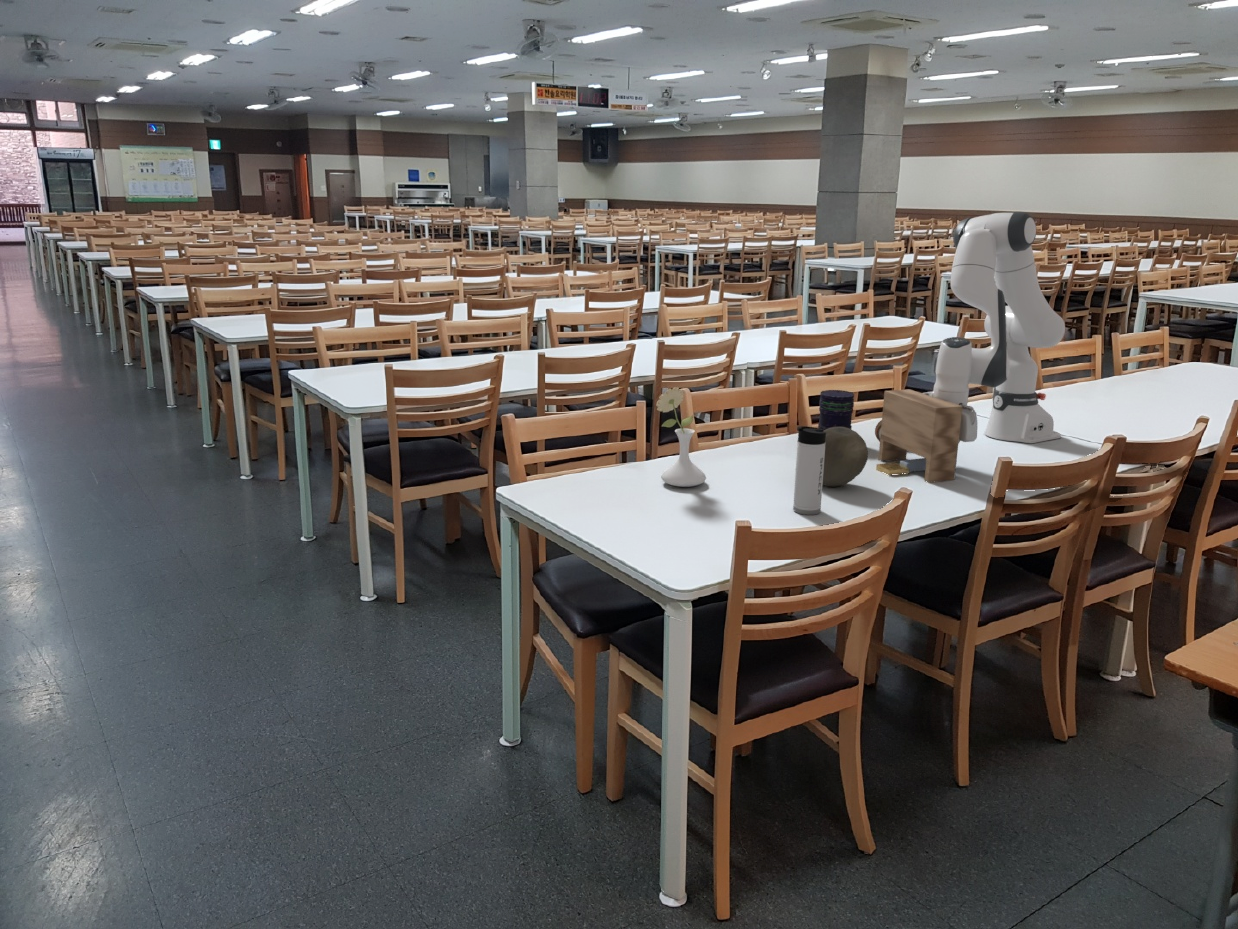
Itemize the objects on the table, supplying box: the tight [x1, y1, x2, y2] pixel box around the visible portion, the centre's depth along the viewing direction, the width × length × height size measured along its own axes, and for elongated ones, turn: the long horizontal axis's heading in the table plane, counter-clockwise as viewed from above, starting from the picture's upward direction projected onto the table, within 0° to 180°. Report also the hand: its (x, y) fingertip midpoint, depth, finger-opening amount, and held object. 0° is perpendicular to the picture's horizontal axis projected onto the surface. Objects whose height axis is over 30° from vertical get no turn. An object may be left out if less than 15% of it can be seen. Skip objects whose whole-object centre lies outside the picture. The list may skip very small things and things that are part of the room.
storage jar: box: [817, 389, 855, 431], centre depth 272 cm, size 10×10×15 cm
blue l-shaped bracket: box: [899, 449, 959, 473], centre depth 248 cm, size 16×4×10 cm, turn 109°
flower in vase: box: [655, 386, 707, 488], centre depth 230 cm, size 13×11×25 cm
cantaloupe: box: [822, 427, 869, 488], centre depth 232 cm, size 14×14×15 cm
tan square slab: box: [875, 461, 910, 476], centre depth 246 cm, size 6×6×2 cm
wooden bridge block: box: [877, 389, 962, 483], centre depth 245 cm, size 8×22×20 cm, turn 19°
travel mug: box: [792, 425, 826, 516], centre depth 212 cm, size 6×7×20 cm
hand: (944, 450), depth 249 cm, fingers closed on blue l-shaped bracket, 4 cm apart
